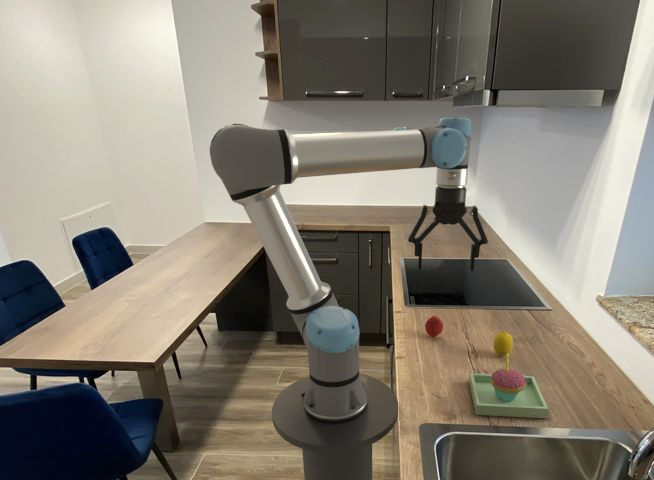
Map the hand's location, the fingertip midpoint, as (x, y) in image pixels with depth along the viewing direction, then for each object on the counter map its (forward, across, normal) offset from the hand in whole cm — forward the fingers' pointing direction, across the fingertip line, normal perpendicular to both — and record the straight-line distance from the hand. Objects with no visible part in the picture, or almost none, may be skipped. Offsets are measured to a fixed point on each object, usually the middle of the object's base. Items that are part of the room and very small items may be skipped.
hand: (445, 268), depth 118 cm
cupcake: (+28, +16, -17) cm, 37 cm away
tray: (+29, +16, -17) cm, 37 cm away
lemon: (+29, +19, +6) cm, 35 cm away
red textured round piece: (+29, -1, +17) cm, 34 cm away
